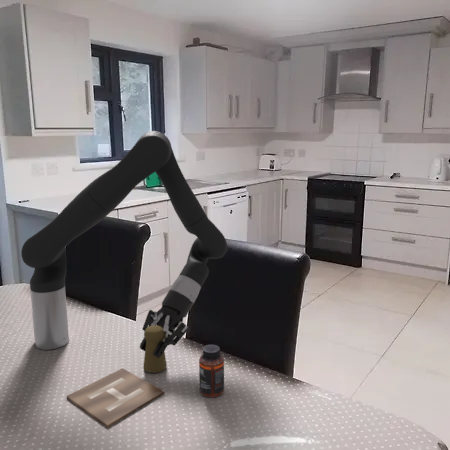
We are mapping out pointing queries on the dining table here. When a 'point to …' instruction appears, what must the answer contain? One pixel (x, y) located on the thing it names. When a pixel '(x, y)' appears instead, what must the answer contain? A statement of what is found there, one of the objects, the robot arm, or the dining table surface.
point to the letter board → (115, 396)
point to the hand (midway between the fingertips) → (149, 352)
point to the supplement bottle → (211, 371)
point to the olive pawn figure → (153, 349)
